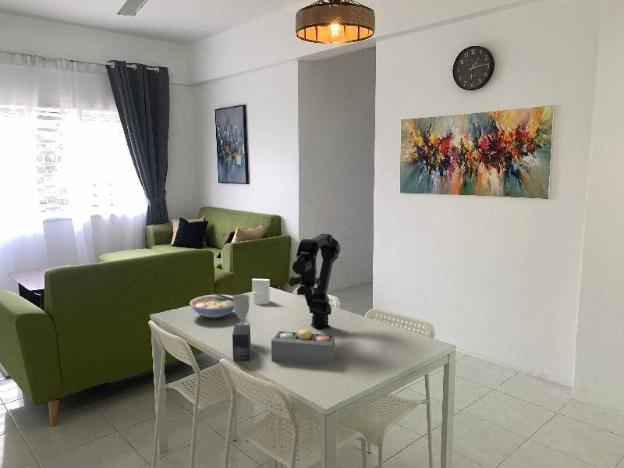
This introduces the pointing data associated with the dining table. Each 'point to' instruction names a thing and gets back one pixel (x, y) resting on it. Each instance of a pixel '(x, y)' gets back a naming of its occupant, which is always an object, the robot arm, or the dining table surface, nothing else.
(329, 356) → the grey compartment box
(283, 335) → the button sage
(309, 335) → the button ochre
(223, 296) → the ramen bowl
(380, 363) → the dining table surface
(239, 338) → the small box
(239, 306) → the chalice
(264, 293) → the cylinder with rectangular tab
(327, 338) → the button terracotta
